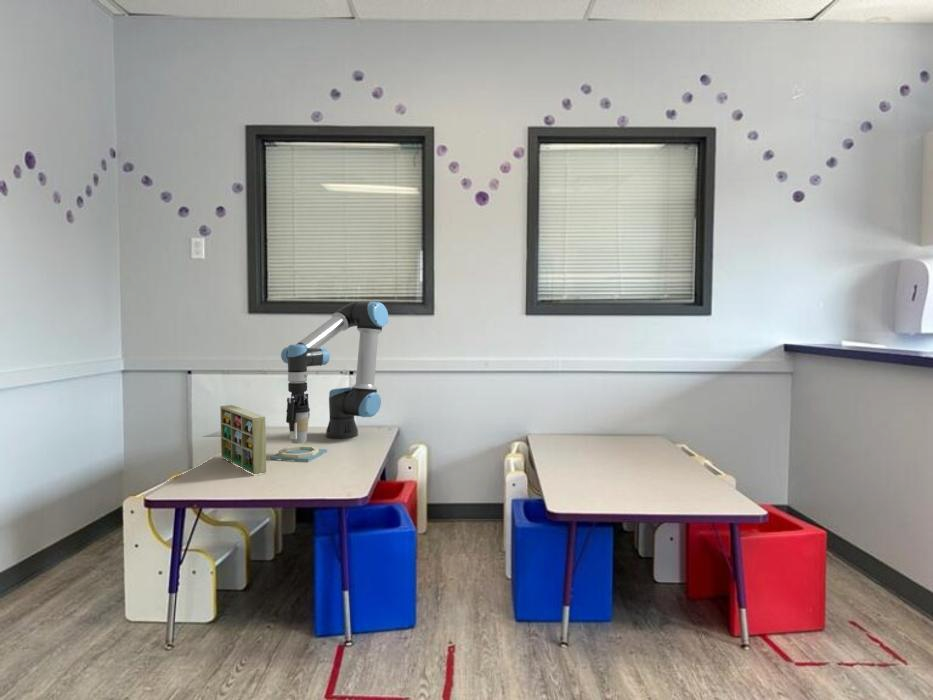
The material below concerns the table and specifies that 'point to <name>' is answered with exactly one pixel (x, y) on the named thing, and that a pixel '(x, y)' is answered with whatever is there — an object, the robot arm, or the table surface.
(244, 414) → the beige cubby shelf
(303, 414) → the coffee cup
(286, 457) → the ring mat
